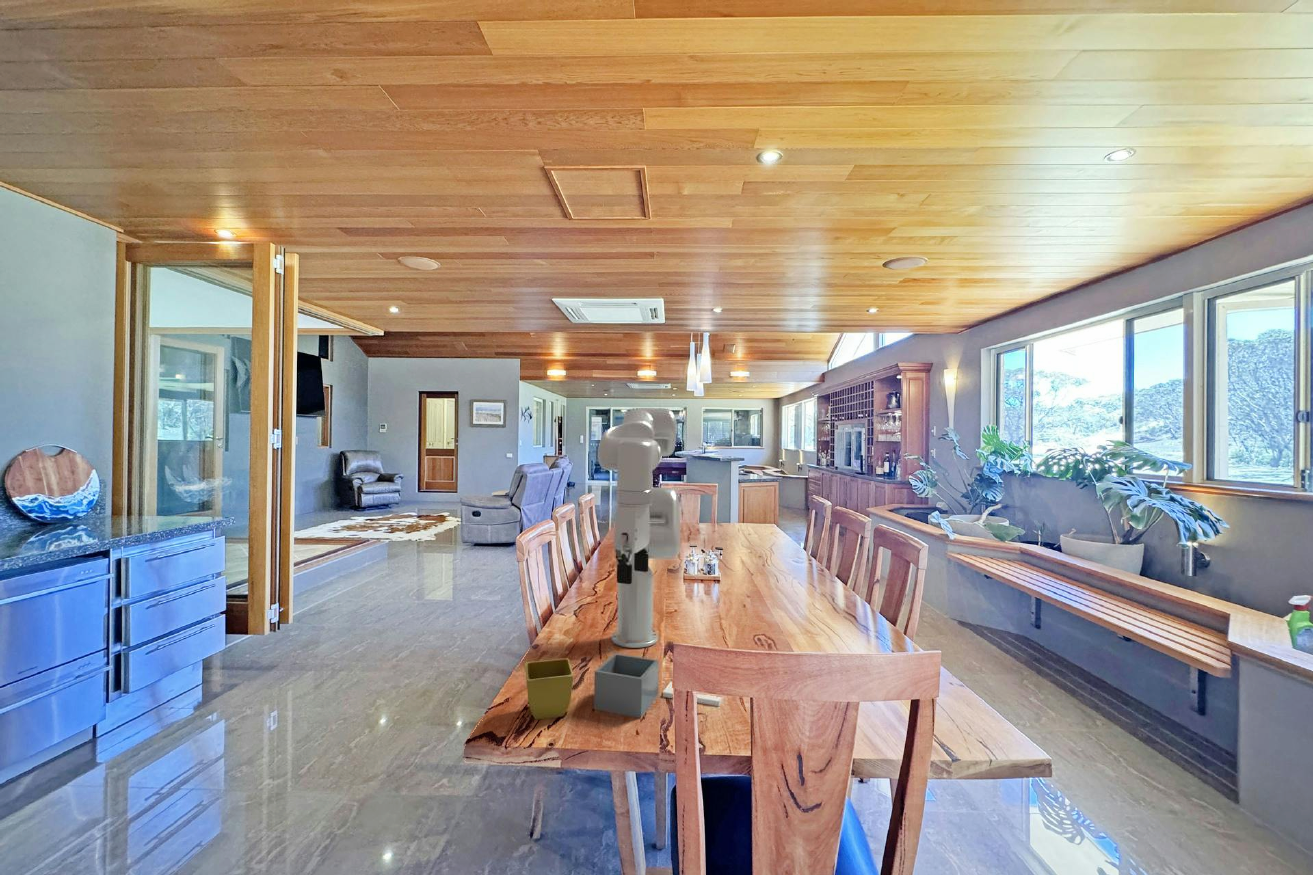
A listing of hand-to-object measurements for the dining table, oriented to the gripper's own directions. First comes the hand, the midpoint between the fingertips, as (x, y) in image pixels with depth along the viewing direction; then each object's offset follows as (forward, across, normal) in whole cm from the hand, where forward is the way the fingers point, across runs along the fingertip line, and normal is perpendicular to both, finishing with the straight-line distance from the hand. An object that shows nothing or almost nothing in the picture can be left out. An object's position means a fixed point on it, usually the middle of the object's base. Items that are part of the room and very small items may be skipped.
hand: (633, 576), depth 118 cm
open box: (+24, +7, +2) cm, 25 cm away
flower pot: (+24, +16, -11) cm, 31 cm away
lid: (+24, -4, +14) cm, 28 cm away
